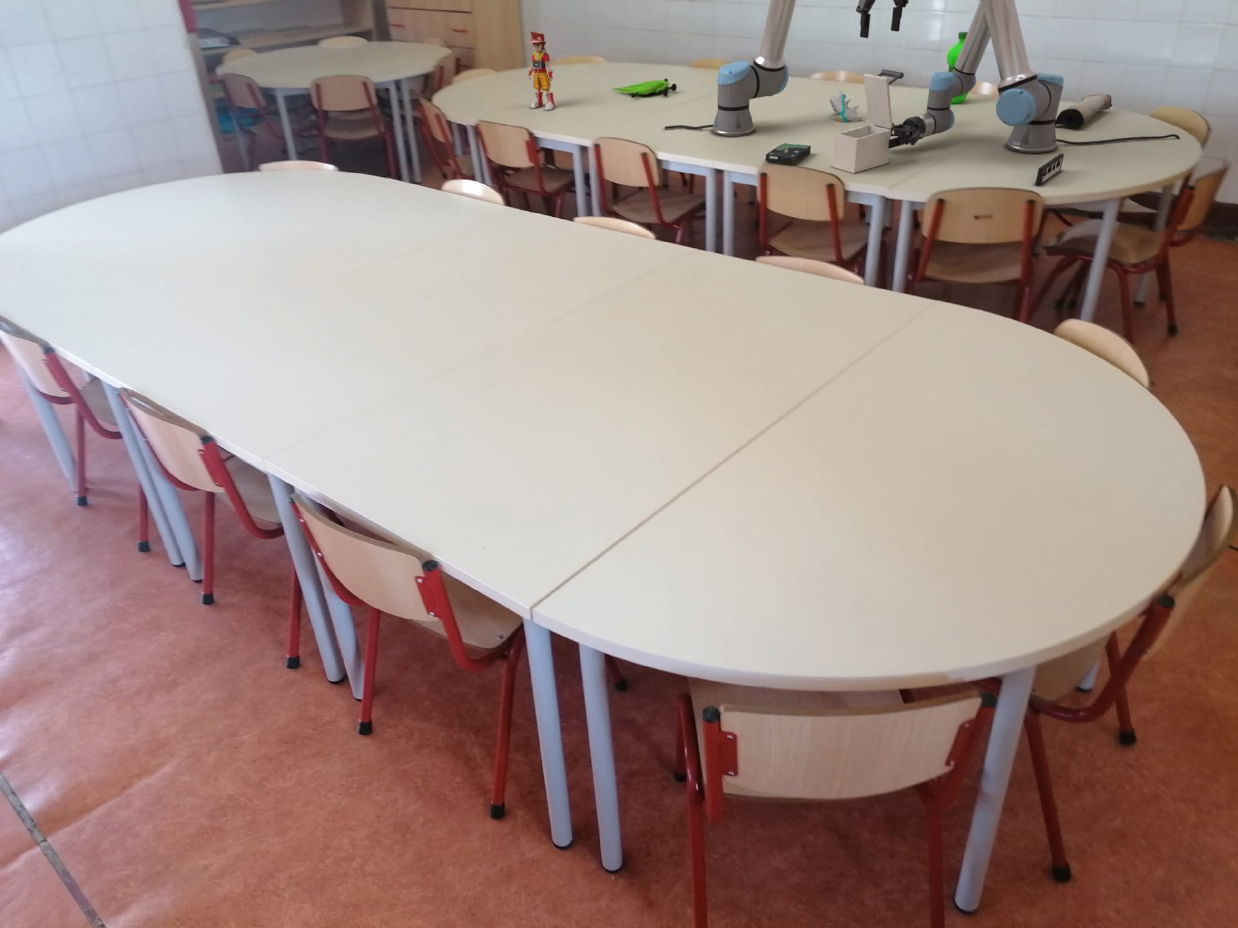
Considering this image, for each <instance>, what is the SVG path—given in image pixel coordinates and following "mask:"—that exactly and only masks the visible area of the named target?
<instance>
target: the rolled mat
mask: <svg viewBox="0 0 1238 928" xmlns="http://www.w3.org/2000/svg"><path fill="white" fill-rule="evenodd" d="M1112 107H1113V103H1112V95H1110V94H1105V93H1096V94H1091V95H1085V96H1083V97H1082V98H1081V99H1080V100H1079V101H1078V102H1075V103H1074V104H1072V105H1070V106H1068V107H1067V108H1065V109H1063V110H1061V111H1060V112H1059V114H1057V116H1056V120H1055V127H1056V126H1058V125H1059V126H1060V125H1061V126H1064V127H1065V128H1066V129H1073V130H1079V129H1081V128H1082V127H1083V126H1084V125H1086V123H1088V121H1089V120H1090V119H1091V118H1092V117H1094V116H1095V115H1096V114H1097V113H1098V112H1100V111H1106V110H1109V109H1110V108H1112Z"/></svg>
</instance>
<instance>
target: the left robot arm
mask: <svg viewBox="0 0 1238 928" xmlns="http://www.w3.org/2000/svg"><path fill="white" fill-rule="evenodd" d="M876 1H877V0H859V1H858V4H857V6H856V8H855V12H856V13H858V14H860V19H859V20H860V21H859V26H860V30H859V31H860V32H859V37H860V38H863V39H868V38H869V35H870V24H871V13H870V12H871V10H872V8H873V6H874V4H875V2H876ZM892 1H893V4H894V6H893V8H892V16H891V25H890V31H891V32H898V33H899V32H900V28H901V21H902V20H901V19H902V18H903V10H904V8H906V7H907V5H908V4H909V2H910V1H909V0H892ZM796 3H797V0H770V1H769V6H768V9H767V10H768V11H767V15H766V20H765V23H764V24H765V25H764V29H763V34H762V38H761V43H760V47H759V51H758V52H757V53H756V54H755V55H754V56H753V59H752V60H753V61H752V64H751V63H750V62H749V61H744V60H743V61H733V62H729V63H726V64H724V65H722V66H721V67H720V68H719V70H718V73H717V74H718V75H717V111H716V114H715V118H714V120H713V123H712V124H707V125H705V124H704V125H700V126H691V125H686V124H685V125H683V124H679V125H678V124H677V125H667V126H664V130H669V129H688V130H701V129H709V128H712V133H713V134H715V135H717V136H721V137H741V136H746V135H750V134H752V133H754V122H753V116H752V115H751V111H750V100H754V99H760V98H764V97H772V96H775V95H779V94H781V93H782V92H783V91H784V89H785V88H786V87H787V84H788V82H789V75H790V74H789V73H788V72H789V67H788V65H787V63H786V59H785V58H784V53H785V49H786V45H787V40H788V36H789V31H790V27H791V23H792V20H793V19H792V18H793V15H794V10H795V8H796V7H795V6H796Z"/></svg>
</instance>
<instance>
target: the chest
mask: <svg viewBox="0 0 1238 928" xmlns="http://www.w3.org/2000/svg"><path fill="white" fill-rule="evenodd" d="M834 135H835V136H834V148H833V149H834V150H833V158H832V159H833V160H832V167H833V168H835V169H839V170H842V171H846V172H849V173H852V174H856V173H860V172H863V171H865V170H869V169H873V168H876V167H879V166H882V165H885V164H888V162H889V152H890V149H889V148H888V146H889V140H890V139H891V137H892V136H891V130H889V129H886V128H882V127H877V126H873V124H867V125H864V126H858V127H856V128H855V127H854V128H851V129H848V130H845V131H840V132H837V133H835V134H834Z"/></svg>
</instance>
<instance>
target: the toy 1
mask: <svg viewBox="0 0 1238 928" xmlns="http://www.w3.org/2000/svg"><path fill="white" fill-rule="evenodd" d="M529 33H530V35H531V36H528V37H527V38H528V39H529V40H528V41H527V43H529V44H530V43H531V44H532V48H533V50H534V51H533V52H532V55H531V58H530V59H531V63H530V66H528V74H527V75H528V76H527V77H528V79H529V80H531V75H532V74H533V84H532V85H533V86H532V87H533V88H534V89H535V90H536V92H534V95H535V97H536V100H535V101H533V102H531V105H530V108H531V109H535V108H538V107H542V106H544V101H543V100H544V99H543V95H544V92H546V94H545V97H546V99H547V103H546V104H545V106H544V110H546V111H549V110H553V109H554V107H555V106H556V105H555V99H554V92H551V91H550V90H551V86H552V84H551V82H552V81H553V80H554V77H553V73H554V71H555V70H554V69H552V68H551V63H550V61H551V59H550V58H551V57H550V54H549V53H548V52H547V50H546V48H545V46H546V44H547V41H545V35H544V33H543V32H542V33H539V32H535V31H529Z"/></svg>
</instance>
